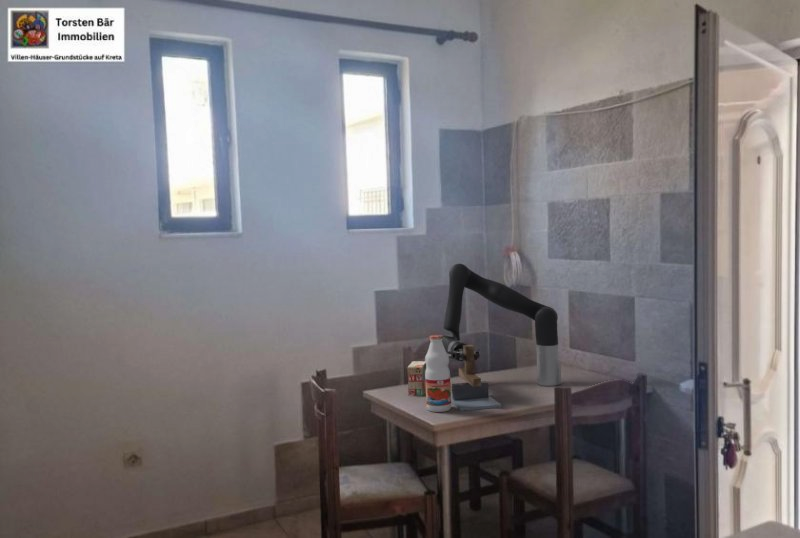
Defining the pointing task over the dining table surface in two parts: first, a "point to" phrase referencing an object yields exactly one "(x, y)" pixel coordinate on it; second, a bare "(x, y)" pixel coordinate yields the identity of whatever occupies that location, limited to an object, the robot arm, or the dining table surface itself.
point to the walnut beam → (469, 367)
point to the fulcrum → (472, 397)
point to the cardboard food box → (416, 378)
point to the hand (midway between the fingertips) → (471, 357)
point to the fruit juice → (437, 376)
